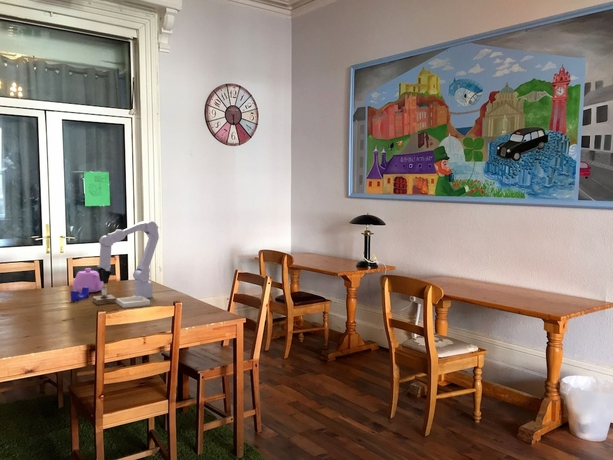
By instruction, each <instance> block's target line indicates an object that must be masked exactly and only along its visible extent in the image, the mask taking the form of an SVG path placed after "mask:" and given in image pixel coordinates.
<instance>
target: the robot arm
mask: <svg viewBox="0 0 613 460" xmlns="http://www.w3.org/2000/svg"><path fill="white" fill-rule="evenodd" d="M138 231H142V232H143V233H145V234H146V237H147V238H148V239H147V242H146V245H145V248H144V250H143V254H142V257H141V260H140V263H139V265H137V266H136V269H135V270H134V271H133V272H132V273H133V274H132V277H133V278H134V294H133V295H132V297H136V296H143V297H145V298H147V299H148V298H149V299H150V298H153V297H154V296H153V293H154V292H153V289H154V288H153V283H152V281H150V277H151V276H150V272H151V269H150V265H151V263H152V260H153V256H154V254H155V250H156V248H157V246H158V245H157V244H158V242H159V239H160V235H159V226H158V224H157V223H156V222H155V221H153V220H152V221H151V220H142V221H139V222H137V223H135V224H134V225H131V226H130V227H127V228H125V229H118V228H117V229H115V231H113V232H111V233H107V235H102V236H101V237H100V238H99V240H98V243H99V245H100V248H99V260H98V261H99V263H98V265H96V267H97V268H96V270H97V272H98V273H99V278H100V281H103V284H105V285H106V284H108V283H109V280H110V277H111V275H112V273H113V270H111V267H112V266H111V263H112V261H111V259H112V258H111V257H112V246H113V245H114V244H115V243H117V242H118V243H119V242H120V241H122V240H124V239H126V236H128V235H130V234H133V233H136V232H138Z"/></svg>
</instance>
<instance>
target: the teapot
mask: <svg viewBox="0 0 613 460" xmlns="http://www.w3.org/2000/svg"><path fill="white" fill-rule="evenodd" d="M102 285H104V283H103V281H100V278H99V273H98V270H97V271H96V270H92V268H90V267H88V268H87V267H86V268H84V270H79V271H78V272H76V276H75V278H74V279H73V282H72V290H73V291H78V293H80V292H82V287H89V293H97V292H100V291H102Z"/></svg>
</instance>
